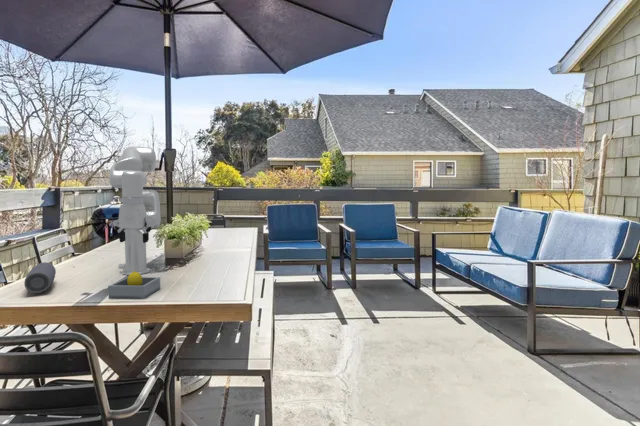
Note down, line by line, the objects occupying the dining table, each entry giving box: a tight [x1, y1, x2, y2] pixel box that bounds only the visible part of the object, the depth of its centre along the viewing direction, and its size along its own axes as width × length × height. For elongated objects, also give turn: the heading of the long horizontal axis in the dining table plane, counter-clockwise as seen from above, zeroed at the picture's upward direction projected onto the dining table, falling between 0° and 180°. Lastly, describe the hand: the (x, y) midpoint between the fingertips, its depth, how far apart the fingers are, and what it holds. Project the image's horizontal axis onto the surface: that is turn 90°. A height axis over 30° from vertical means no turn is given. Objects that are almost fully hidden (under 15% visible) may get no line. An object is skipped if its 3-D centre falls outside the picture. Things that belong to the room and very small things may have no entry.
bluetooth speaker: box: [23, 262, 57, 294], centre depth 159 cm, size 23×9×10 cm, turn 30°
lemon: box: [127, 271, 143, 286], centre depth 153 cm, size 6×6×8 cm
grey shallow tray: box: [107, 276, 161, 300], centre depth 153 cm, size 14×14×5 cm
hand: (134, 241), depth 158 cm, fingers open, 9 cm apart
